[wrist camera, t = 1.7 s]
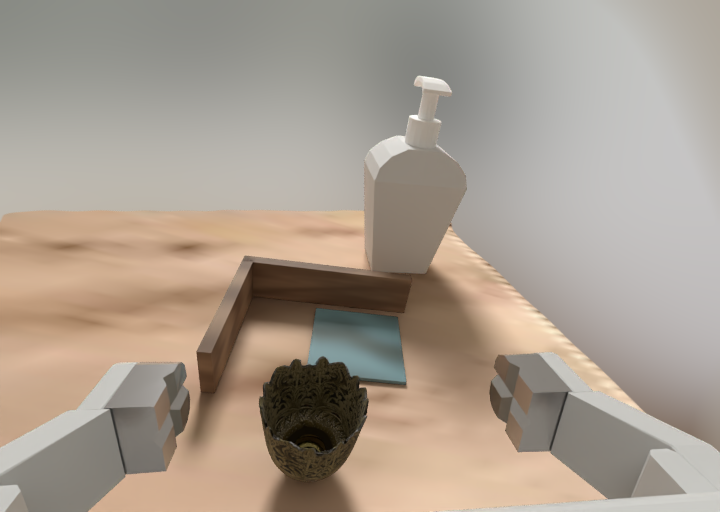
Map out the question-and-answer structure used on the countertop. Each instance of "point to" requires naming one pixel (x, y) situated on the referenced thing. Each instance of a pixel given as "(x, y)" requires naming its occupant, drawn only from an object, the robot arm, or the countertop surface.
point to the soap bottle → (411, 191)
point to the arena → (316, 316)
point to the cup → (312, 417)
